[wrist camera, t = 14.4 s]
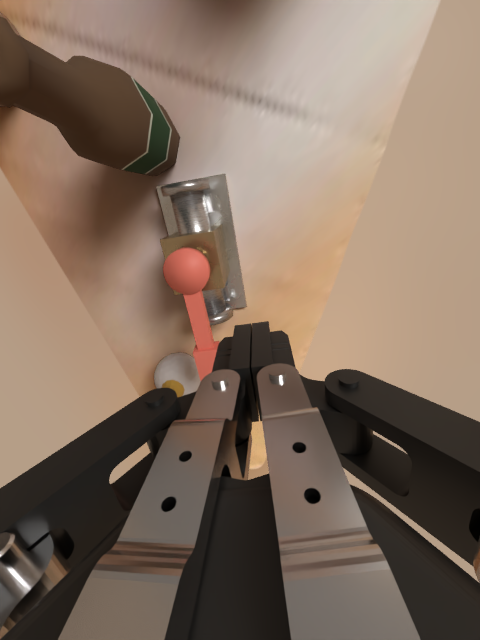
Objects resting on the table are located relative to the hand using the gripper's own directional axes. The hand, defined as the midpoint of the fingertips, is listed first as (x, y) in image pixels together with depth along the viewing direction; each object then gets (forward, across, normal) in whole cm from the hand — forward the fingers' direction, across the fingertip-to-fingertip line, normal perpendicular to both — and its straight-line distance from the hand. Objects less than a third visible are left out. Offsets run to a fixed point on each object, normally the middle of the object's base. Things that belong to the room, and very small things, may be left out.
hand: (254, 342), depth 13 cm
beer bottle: (+29, +11, -14) cm, 34 cm away
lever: (+18, +7, +5) cm, 20 cm away
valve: (+29, +7, 0) cm, 30 cm away
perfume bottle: (+29, +15, +19) cm, 38 cm away
